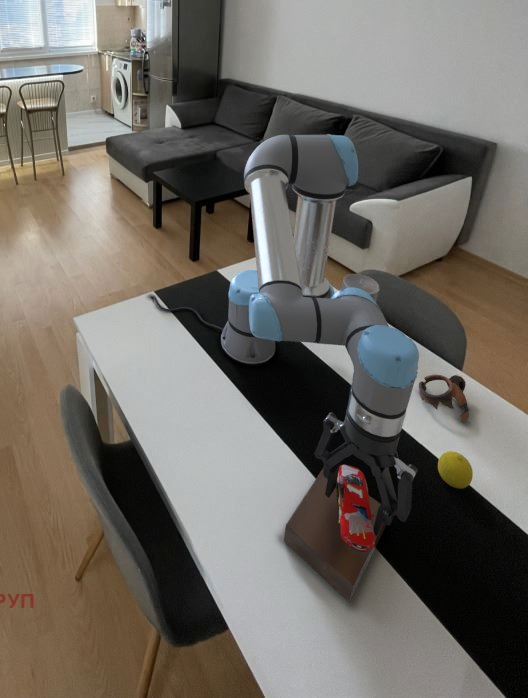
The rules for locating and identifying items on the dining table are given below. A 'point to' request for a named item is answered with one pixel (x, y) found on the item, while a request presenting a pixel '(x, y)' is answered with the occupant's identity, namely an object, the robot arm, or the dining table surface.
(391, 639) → the dining table surface
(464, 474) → the lemon
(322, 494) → the walnut step
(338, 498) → the race car
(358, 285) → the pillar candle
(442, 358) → the dining table surface
